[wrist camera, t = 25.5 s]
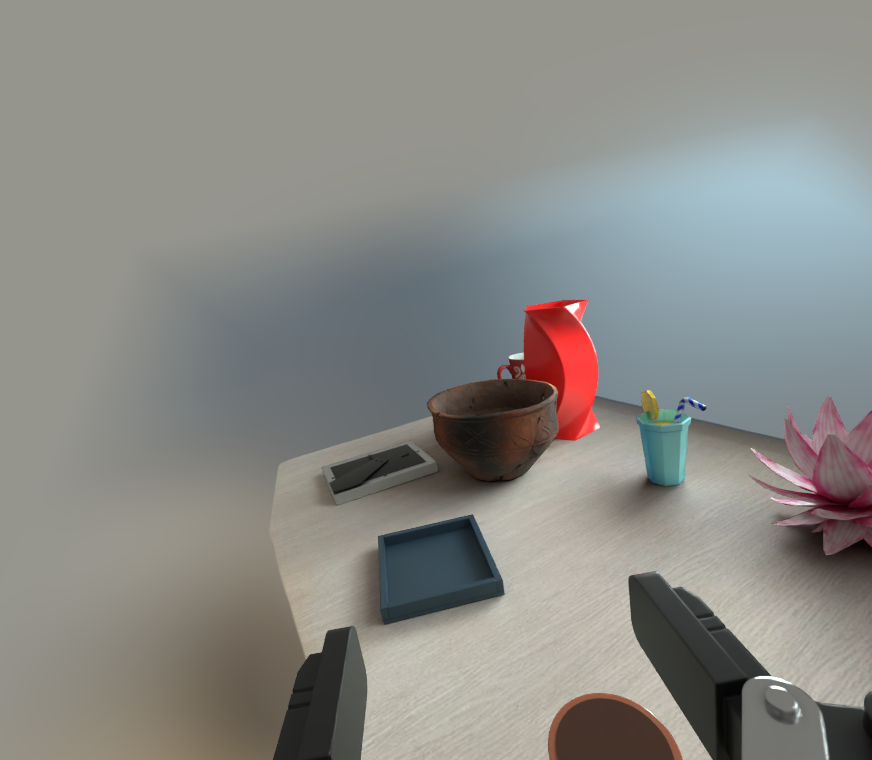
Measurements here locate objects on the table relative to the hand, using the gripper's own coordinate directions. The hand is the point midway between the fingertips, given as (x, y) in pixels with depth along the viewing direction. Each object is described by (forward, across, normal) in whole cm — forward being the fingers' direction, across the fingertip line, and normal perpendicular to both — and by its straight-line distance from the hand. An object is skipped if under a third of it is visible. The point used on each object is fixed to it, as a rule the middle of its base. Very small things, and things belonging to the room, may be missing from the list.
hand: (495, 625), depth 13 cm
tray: (+42, +4, +28) cm, 51 cm away
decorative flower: (+34, -47, +28) cm, 65 cm away
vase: (+83, -28, +28) cm, 92 cm away
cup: (+53, -35, +28) cm, 70 cm away
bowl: (+69, -11, +28) cm, 76 cm away
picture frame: (+76, +14, +28) cm, 82 cm away
